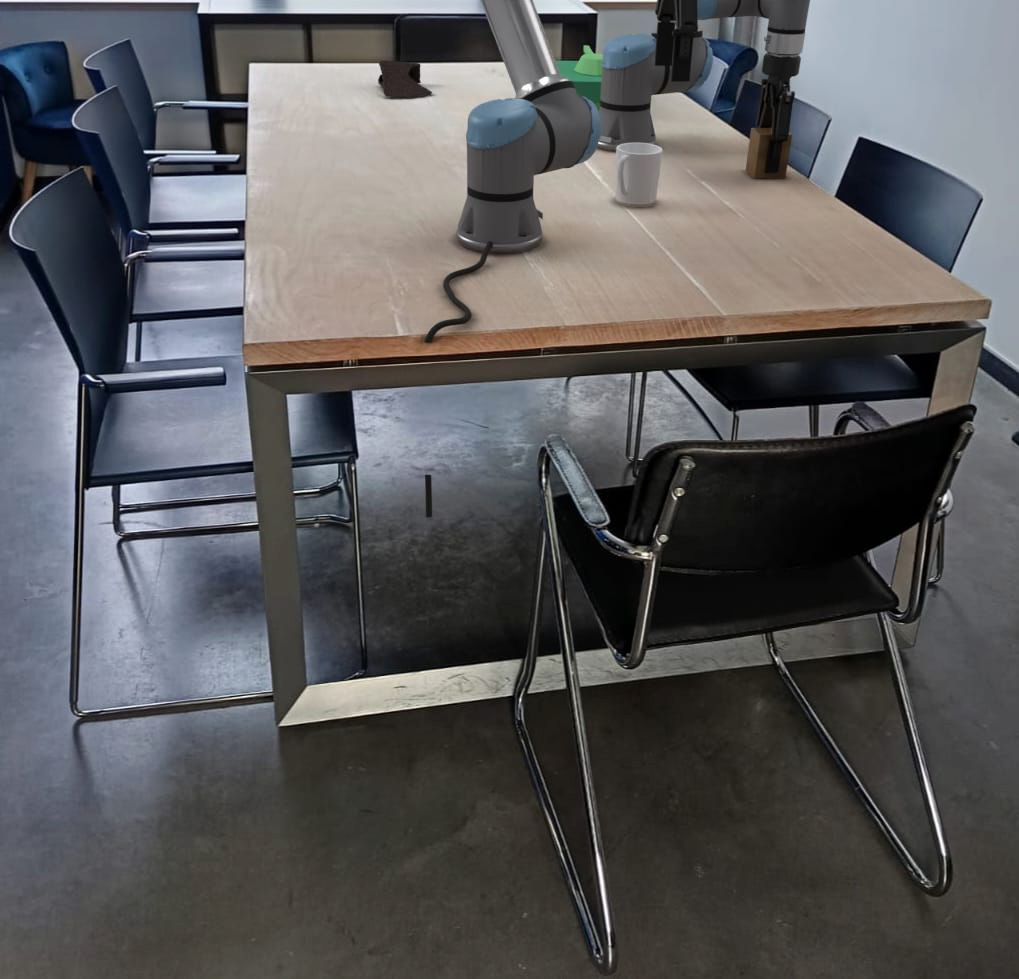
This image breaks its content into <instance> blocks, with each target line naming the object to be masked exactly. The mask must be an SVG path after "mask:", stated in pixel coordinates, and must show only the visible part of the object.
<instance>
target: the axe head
mask: <svg viewBox="0 0 1019 979" xmlns="http://www.w3.org/2000/svg"><path fill="white" fill-rule="evenodd" d="M378 66H379V68H380V72H381V74H379V75H378V79H377V84H378V85H379V86H380V87H381V88H382V89H383V95H384V96H385V97H388V98H394V99H395V98H396V99H403V98H405V99H406V98H407V99H411V98H418V97H425V96H429V95H432V94H433V91H431V90H430V89H428V88H427V87H425V86H422V85H421V84H422V82H421V63H419V62H410V61H408V62H407V61H397V60H388V59H387V60H380V61H379V62H378Z"/></svg>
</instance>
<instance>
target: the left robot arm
mask: <svg viewBox="0 0 1019 979" xmlns="http://www.w3.org/2000/svg"><path fill="white" fill-rule="evenodd" d="M480 3H481V6H482V8H483V11H484V14H485V16H486V19H487V21H488V23H489V26H490V29H491V32H492V34H493V37H494V40H495V42H496V45H497V48H498V50H499V53H500V55H501V58H502V61H503V64H504V66H505V68H506V71H507V75H508V76H509V77H508V78H509V79H510V83H511V84H512V87H513V90H514V93H515V97H514V98H512V97H510V98H503V99H491V100H488V101H486V102H483V103H480V104H478V105H477V106H475V107H474V108H473V109H471V111H470V112H469V114H468V116H467V126H466V127H467V129H466V134H465V140H466V192H467V193H466V198H465V202H464V205H463V209H462V211H461V214H460V218H459V220H458V224H457V227H456V241H457V243H458V244H459V245H461V246H462V247H464V248H466V249H468V250H470V251H475V252H479V253H481V255H480V259H479V261H477V263H476V264H473V265H471V266H469V267H465V268H461V269H457V270H455V271H452V272H450V273H448V275H446V276H445V278H444V279H443V282H442V284H443V285H442V286H443V290H444V291H445V293H446V295H447V297H448V298H449V300H450V302H451V303H452V304H453V305H454V306H456V307H457V308H458V309H460V310H461V311H462V312H463V313H464V316H462V317H456V318H449V319H444V320H440V321H438V322H437V323H436V324H434V325H433V326H432V327H431V328H430V329H429V330H428V332H427V334H426V336H425V338H424V343H426V344H428V343H429V344H430V343H432V341H433V339H434V337H435V336H436V334H437V333H438V332H439V331H440V330H442V329H444V328H447V327H451V326H459V325H465V324H467V323H468V322H469V321H470V320H471V319H472V311H471V309H470V308H469V307H468V306H467V305H466V304H465V303H464V302H462V301H461V300H460V299H458V298H457V296H456V294H455V293H454V291H453V289H452V288H451V285H450V283H451V281H453V280H454V279H456V278H459V277H462V276H466V275H469V274H472V273H474V272H477V271H479V270H481V269H482V268H483V266H484V265H485V264H486V262H487V259H488V256H489V254H497V255H499V254H500V255H506V254H507V255H508V254H517V253H524V252H527V251H530V250H533V249H536V248H538V247H539V246H540V245H541V244H542V243H543V229H542V224H541V221H540V220H543V219H544V213H543V212H542V211H540V210H539V209H537V206H536V204H535V199H534V183H535V181H534V180H535V176H538V175H542V174H546V173H550V172H554V171H559V170H562V169H571V168H573V167H574V166H577V165H580V164H583V163H585V162H586V161H588V160H590V158H591V157H592V156H594V154H595V152H596V151H597V149H598V148H597V147H598V141H599V140H600V137H601V119H600V115H599V112H598V110H597V108H596V106H595V104H594V103H593V102H592V101H591V100H588V99H587V98H586V97H584V96H578V95H577V92H576V89H575V87H574V84H573V82H572V80H571V79H569V78H566V77H564V76H562V75H561V74H560V72H559V69H558V66H557V64H556V61H557V60H556V58H555V56H554V53H553V50H552V48H551V45H550V43H549V40H548V37H547V35H546V31H545V29H544V26H543V24H542V21H541V19H540V16H539V13H538V10H537V8H536V6H535V3H534V0H480ZM654 13H655V16H656V19H657V20H656V21H657V24H656V26H657V38H656V53H655V66H672V74H671V81H672V82H685V81H690V70H691V58H692V46H693V36H694V33H697V31H698V25H699V23H698V22H699V20H698V11H697V0H656V5H655V10H654ZM658 21H660V22H658ZM670 21H676V29H675V22H670ZM673 45H674V48H673ZM672 58H673V61H672ZM424 485H425V488H424V490H425V517H426V518H432V517H433V486H432V474H424Z"/></svg>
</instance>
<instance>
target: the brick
mask: <svg viewBox="0 0 1019 979" xmlns="http://www.w3.org/2000/svg"><path fill="white" fill-rule="evenodd" d="M749 133H750V134H749V140H748V149H747V157H746V163H745V164H746V165H745V172H746V173H747V174H748V175H749V176H751V177H752V178H753V179H754V180H755V179H756V180H757V179H759V180H760V179H761V180H762V179H786V178H787V170H788V164H789V160H790V159H789V158H790V151H791V145H792V140H793V139H792V138H793V134H792V133H791V132H789V136H788V140H787V141H784V142H783V144H782V150H781V157H780V164H779V170H778V173H766V172H765V167H766V160H767V153H768V146H769V142H768V139H771V138H772V128H758V127H751V128H750V132H749Z"/></svg>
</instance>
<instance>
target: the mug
mask: <svg viewBox="0 0 1019 979" xmlns="http://www.w3.org/2000/svg"><path fill="white" fill-rule="evenodd" d="M663 152H664V151H663V148H662V147H661V146H659V145H657V144H655V145H653V144H648V143H624V144H620V145H618V146H617V148H616V151H615V153H616V154H615V188H614V189H615V191H614V192H615V194H614V199H615V202H616V203H617V204H619V205H621V206H626V207H630V208H631V207H632V208H645V207H651V206H653V205H654V204H655V203H656V202H657V195H658V188H659V180H660V173H661V166H662V158H663Z"/></svg>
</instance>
